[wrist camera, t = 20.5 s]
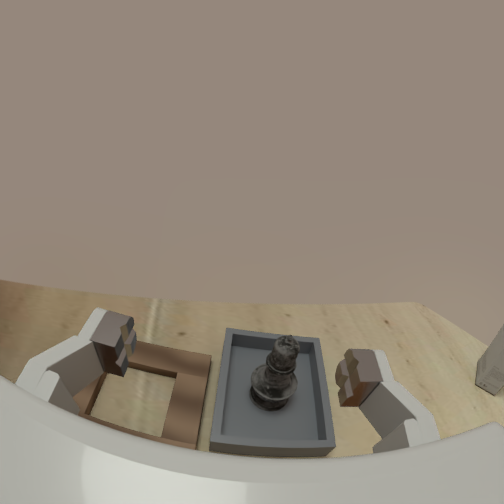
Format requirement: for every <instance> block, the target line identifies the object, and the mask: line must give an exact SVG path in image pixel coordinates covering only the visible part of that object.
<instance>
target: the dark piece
mask: <svg viewBox="0 0 504 504" xmlns="http://www.w3.org/2000/svg"><path fill="white" fill-rule="evenodd" d="M299 351H300V345H299V343H298V341H297V340H296V339H295V338H293V336H292V335H289V336H281V337H279V338H278V339H277V340H276V341H275V343H274V346H273V349H272V352H271V353H269V354H268V356H267V357H266V363H264V364H261V365H259V366H258V367H257V368H255V369H254V371H253V373H252V375H251V384H252V386H251V388H250V392H249V395H250V399H251V401H252V403H253V404H254V405H255V406H256V407H258V408H259V409H262V410H264V411H276V410H280V409H281V408H283V407H284V406H285V405H286V404H287V402H288V399H289V397H290V396H292V395H293V394H294V393H295V391H296V389H297V385H298V381H297V377H296V376H295V374H294V371H295V369H296V367H297V363H296V358H297V356H298V353H299Z"/></svg>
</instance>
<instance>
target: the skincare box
mask: <svg viewBox="0 0 504 504" xmlns="http://www.w3.org/2000/svg"><path fill="white" fill-rule="evenodd" d="M476 385H477V386H479V387H481V388H482V389H484V390H486V391H488V392H489V393H491V394H493V395H495V394H496V393H497V392H498V391H499V390H500V389H501V388H502V387H503V386H504V325H503V326H502V328H501V329H500V331H499V332H498V334H497V335H496V337H495V338H494V340H493V341H492V343H491V344H490V346H489V347H488V349H487V350H486V351H485V353H484V354H483V355H482V357H481V358H480V359H479V361H478V366H477V375H476Z"/></svg>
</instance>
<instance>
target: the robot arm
mask: <svg viewBox="0 0 504 504" xmlns="http://www.w3.org/2000/svg"><path fill="white" fill-rule="evenodd" d="M133 326H134V320H133V318H132V317H130V316H126V315H123V314H119V313H116V312H112V311H109V310H105V309H101V308H98V307H97V308H96V309H94V311H93V312H92V314H91V315H90V317H89V318H88V320H87V322H86V323H85V325H84V326H83V328H82V330H81V331H80V333H79V335H78V336H75V335H74V336H72V337H70V338H69V339H67V340H65V341H63V342H61V343H59V344H57V345H55V346H54V347H52V348H50V349H48V350H46V351H44V352H42V353H41V354H39V355H37V356H35V357H33V358H31V359H29V361H28V363H27V364H26V366H25V368H24V369H23V371H22V373H21V374H20V376H19V378H18V379H17V381H16V383H15V384H14V383H12V382H11V381H9V380H7V379H6V378H4V377H3V376H1V375H0V504H504V427H503V426H502V425H500V424H499V423H498V422H490V423H487V424H485V425H482V426H480V427H477V428H474V429H472V430H469V431H466V432H463V433H460V434H457V435H454V436H450V437H447V438H444V439H440V436H439V432H438V429H437V426H436V423H435V420H434V417H433V414H432V413H431V412H430V411H429V410H427V409H426V408H425V407H424V406H423V405H422V404H421V403H420V402H419V401H418V400H417V399H416V398H415V397H414V396H413V395H412V394H411V393H410V392H408V391H407V390H406V389H405V388H404V387H403V386H402V385H401V384H400V383H399V382H398V381H395V380H394V377H393V375H392V372H391V369H390V366H389V363H388V360H387V357H386V355H385V352H384V351H383V350H369V349H348V350H347V351H346V353H345V354H344V357H345V359H344V360H342V361H341V362H339V364H338V366H337V369H336V373H335V379H336V384H337V385H338V386H339V387H340V388H341V389H340V390H339V392H338V397H339V402H340V407H359V409H360V410H361V411H362V413H363V414H364V415H365V417H366V418H367V419H368V421H369V422H370V423H371V424H372V426H373V427H374V428H375V430H376V431H377V432H378V434H379V435H380V436H381V438H382V440H381V441H379V442H378V443H377V444H375V445H374V447H373V454H365V455H357V456H347V457H334V458H314V459H278V458H258V457H245V456H235V455H226V454H218V453H211V452H205V451H199V450H193V449H188V448H183V447H178V446H173V445H169V444H164V443H160V442H156V441H152V440H148V439H145V438H141V437H138V436H134V435H131V434H127V433H124V432H121V431H118V430H115V429H112V428H109V427H106V426H103V425H101V424H98V423H95V422H93V421H90V420H87V419H85V418H82V417H80V416H78V413H79V411H80V409H79V406H78V405H77V403H76V402H75V400H74V399H73V396H75V395H76V394H77V393H79V392H80V391H81V390H82V389H84V388H85V387H86V386H88V385H89V384H90V383H91V382H93V381H94V380H95V379H97V378H98V377H99V376H100V375H102V374H103V373H104V372H107V373H111V374H114V375H118V376H121V377H124V375H125V372H126V370H127V367H128V365H129V362H128V357H130V356H132V355H133V353H134V350H135V346H136V332H135V331H134V330H133Z"/></svg>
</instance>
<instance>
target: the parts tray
mask: <svg viewBox="0 0 504 504" xmlns="http://www.w3.org/2000/svg"><path fill="white" fill-rule="evenodd" d="M281 336H289V335H280V334H271V333H262V332H254V331H247V330H239V329H232V328H226V334H225V341H224V347H223V354H222V361H221V367H220V374H219V381H218V388H217V395H216V402H215V409H214V416H213V423H212V430H211V437H210V447H209V451H216V452H223V453H232V454H242V455H254V456H273V457H316V456H326V455H327V454H328V453H329V452H330V451H331V450H333V449H334V448H335V447H336V444H335V436H334V429H333V421H332V414H331V407H330V400H329V394H328V387H327V381H326V375H325V369H324V363H323V357H322V351H321V346H320V340H319V338H311V337H300V336H293V338H295V339H296V340H297V341H298V343H299V345H300V351H299V353H298V356H297V358H296V363H297V367H296V369H295V371H294V374H295V376H296V377H297V381H298V385H297V389H296V391H295V393H294V394H293V395H292V396H290V397H289V399H288V402H287V404H286V405H285V406H284V407H283V408H281V409H280V410H276V411H264V410H262V409H259V408H258V407H256V406H255V405H254V404H253V403H252V401H251V399H250V395H249V392H250V388H251V386H252V384H251V375H252V373H253V371H254V369H255V368H257V367H258V366H259V365H261V364H264V363H266V357H267V356H268V354H269V353H271V352H272V349H273V346H274V343H275V341H276V340H277V339H278V338H279V337H281Z"/></svg>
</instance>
